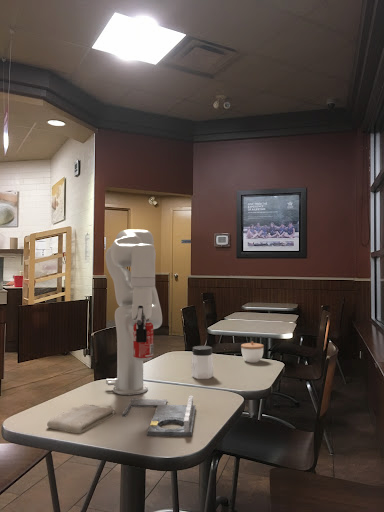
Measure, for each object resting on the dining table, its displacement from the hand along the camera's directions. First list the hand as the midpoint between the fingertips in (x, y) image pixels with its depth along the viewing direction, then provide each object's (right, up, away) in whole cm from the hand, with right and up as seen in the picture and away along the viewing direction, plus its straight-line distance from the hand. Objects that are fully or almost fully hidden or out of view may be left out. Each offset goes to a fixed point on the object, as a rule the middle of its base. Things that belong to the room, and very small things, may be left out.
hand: (143, 339), depth 138 cm
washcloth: (-17, -23, -8) cm, 30 cm away
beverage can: (0, -6, 0) cm, 6 cm away
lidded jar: (+44, -24, +72) cm, 88 cm away
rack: (+10, -23, -9) cm, 26 cm away
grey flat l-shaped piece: (0, -23, +3) cm, 23 cm away
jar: (+20, -24, +43) cm, 53 cm away
